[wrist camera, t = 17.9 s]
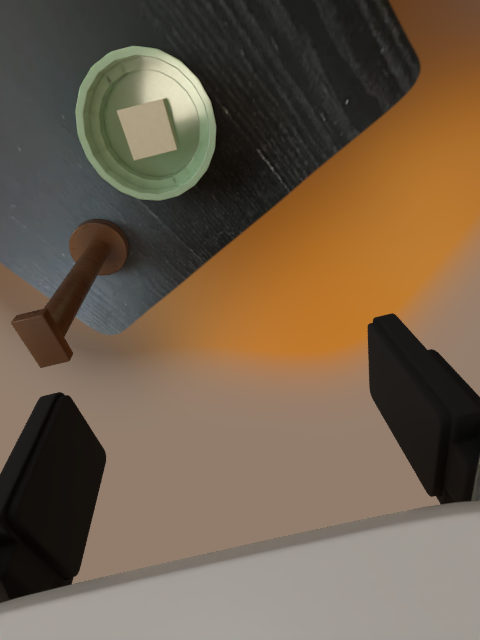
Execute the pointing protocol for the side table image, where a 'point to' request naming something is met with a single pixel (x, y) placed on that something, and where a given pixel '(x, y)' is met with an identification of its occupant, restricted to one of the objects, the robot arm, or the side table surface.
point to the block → (148, 129)
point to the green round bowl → (134, 89)
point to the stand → (72, 290)
